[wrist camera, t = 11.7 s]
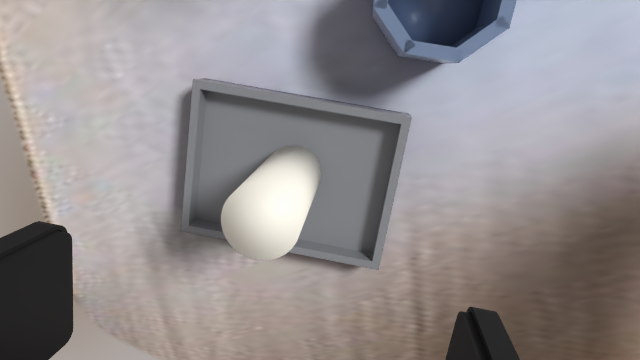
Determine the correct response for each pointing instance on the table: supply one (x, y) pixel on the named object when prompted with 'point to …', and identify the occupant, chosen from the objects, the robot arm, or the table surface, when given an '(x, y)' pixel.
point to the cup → (441, 26)
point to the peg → (272, 204)
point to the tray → (306, 131)
